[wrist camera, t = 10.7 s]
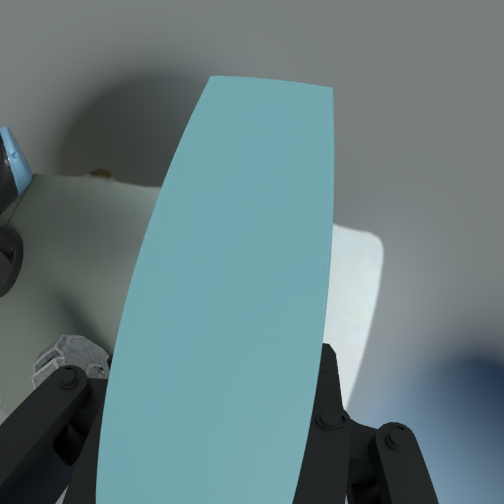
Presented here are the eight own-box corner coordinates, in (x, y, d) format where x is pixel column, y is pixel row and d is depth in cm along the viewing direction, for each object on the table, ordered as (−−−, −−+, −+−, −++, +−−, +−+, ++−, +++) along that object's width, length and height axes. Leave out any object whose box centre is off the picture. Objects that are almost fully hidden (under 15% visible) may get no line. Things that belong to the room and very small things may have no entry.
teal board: (223, 403, 18) (95, 514, 2) (243, 292, 21) (211, 75, 5) (260, 409, 18) (275, 560, 2) (278, 297, 21) (332, 88, 5)
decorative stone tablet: (213, 569, 12) (38, 308, 24) (160, 585, 11) (5, 339, 22) (238, 501, 30) (119, 344, 41) (204, 520, 28) (91, 365, 40)
